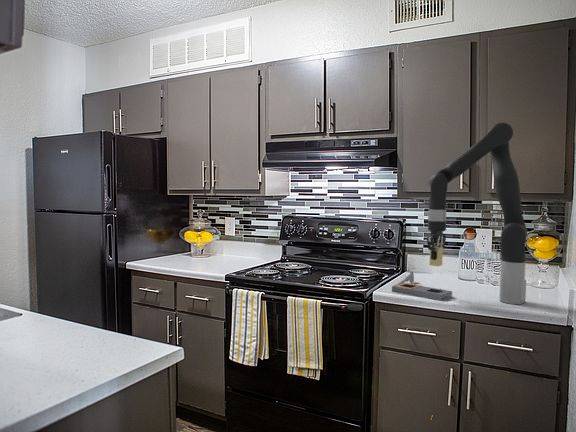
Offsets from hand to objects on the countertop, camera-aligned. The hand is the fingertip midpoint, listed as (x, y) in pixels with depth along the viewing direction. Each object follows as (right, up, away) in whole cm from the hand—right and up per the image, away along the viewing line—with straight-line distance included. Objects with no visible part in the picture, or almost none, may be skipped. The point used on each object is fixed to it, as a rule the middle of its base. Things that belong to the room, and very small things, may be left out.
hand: (436, 258), depth 203 cm
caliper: (-8, -16, +24) cm, 30 cm away
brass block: (0, -3, 0) cm, 3 cm away
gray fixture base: (-5, -16, +6) cm, 18 cm away
